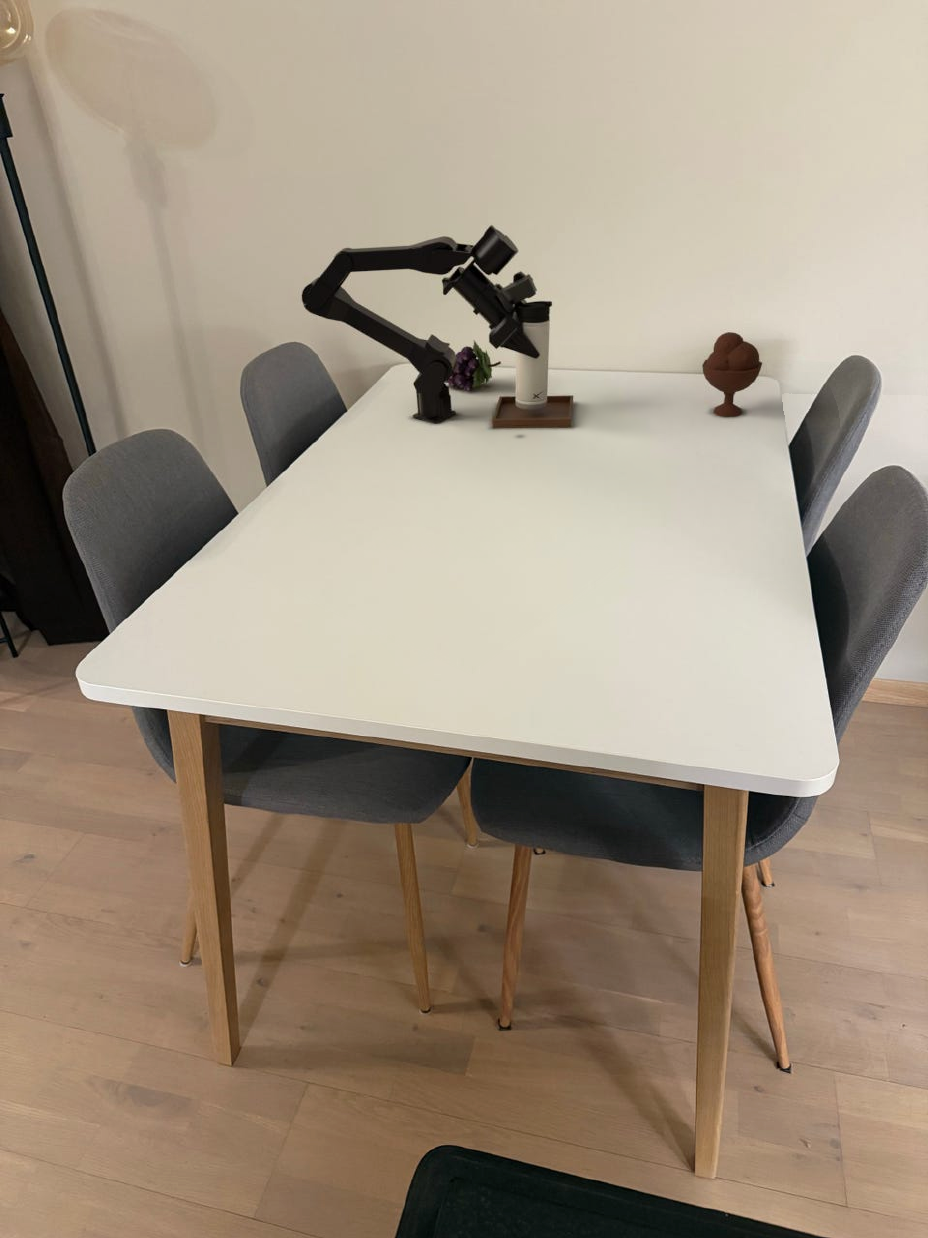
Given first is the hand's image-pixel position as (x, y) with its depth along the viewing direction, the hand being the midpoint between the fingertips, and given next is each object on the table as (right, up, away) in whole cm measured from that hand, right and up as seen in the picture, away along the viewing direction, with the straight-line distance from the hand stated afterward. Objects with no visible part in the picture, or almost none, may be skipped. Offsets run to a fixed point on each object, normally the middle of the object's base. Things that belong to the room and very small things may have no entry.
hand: (539, 351), depth 174 cm
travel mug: (-1, -9, +6) cm, 11 cm away
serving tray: (-1, -11, +7) cm, 13 cm away
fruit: (-13, -1, +25) cm, 28 cm away
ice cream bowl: (+37, -11, +2) cm, 39 cm away
